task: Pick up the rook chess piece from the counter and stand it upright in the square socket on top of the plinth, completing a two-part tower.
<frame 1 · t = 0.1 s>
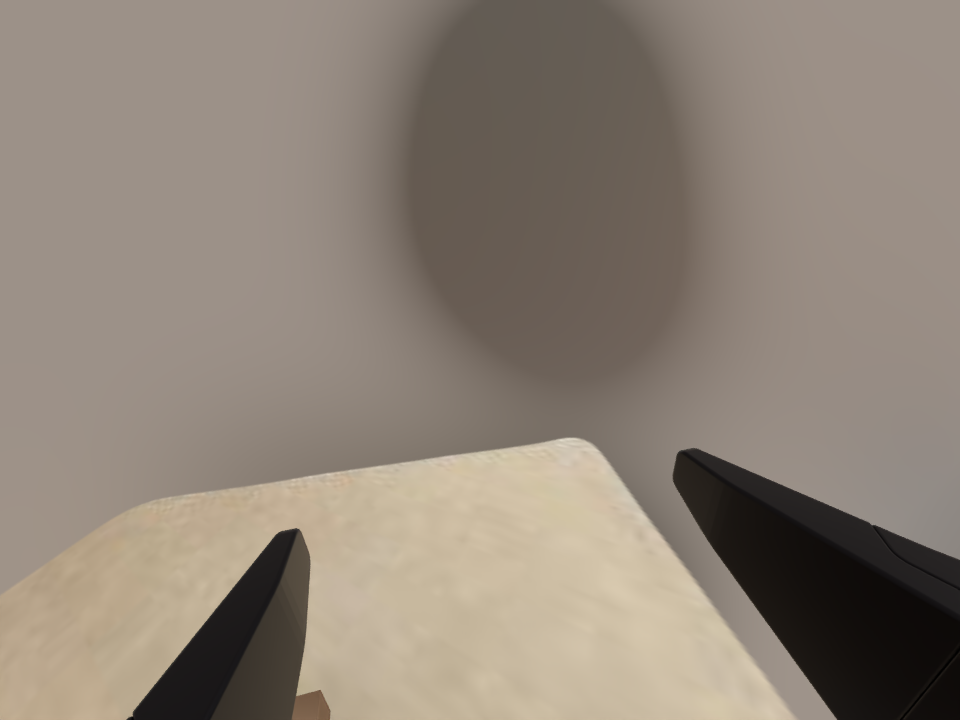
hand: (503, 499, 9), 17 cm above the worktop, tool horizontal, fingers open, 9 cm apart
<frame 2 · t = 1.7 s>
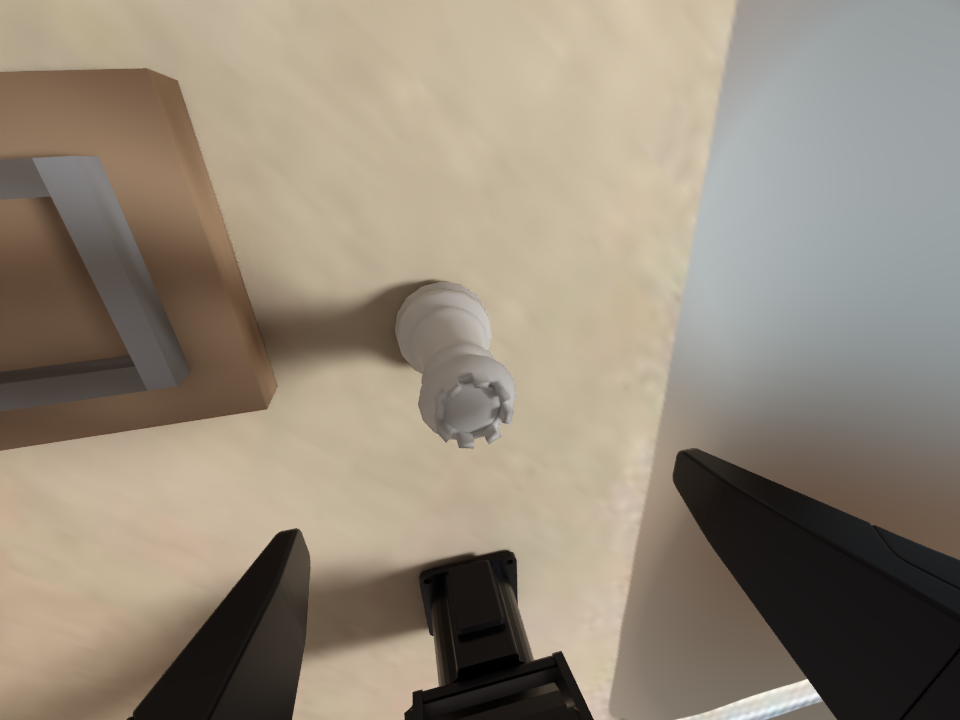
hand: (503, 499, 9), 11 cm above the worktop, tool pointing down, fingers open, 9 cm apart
plinth: (66, 275, 15), on the worktop
rook chess piece: (440, 323, 20), on the worktop
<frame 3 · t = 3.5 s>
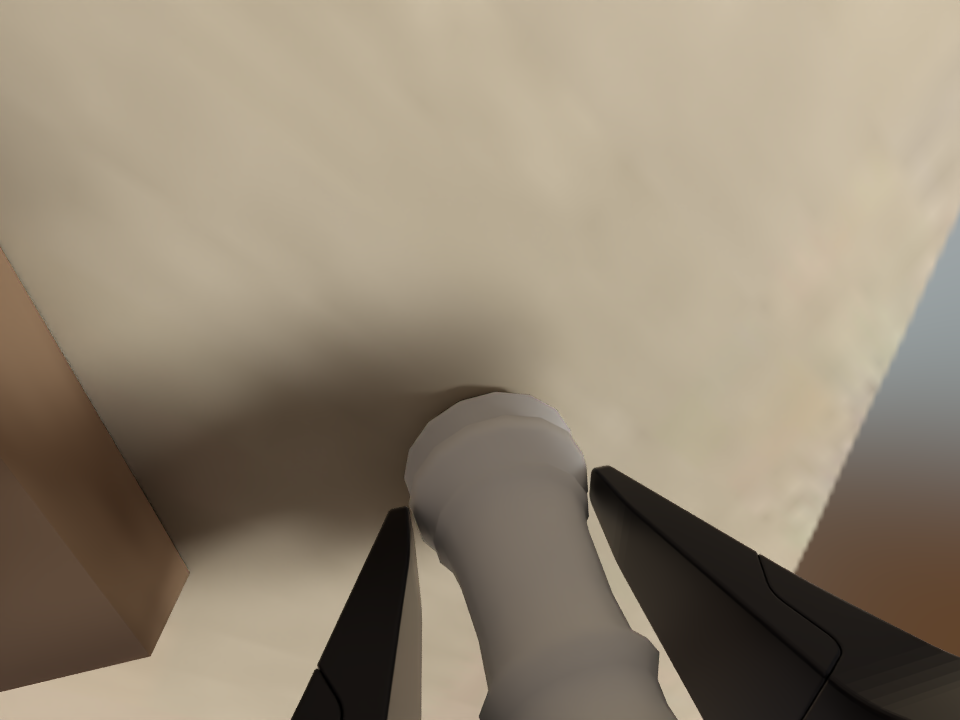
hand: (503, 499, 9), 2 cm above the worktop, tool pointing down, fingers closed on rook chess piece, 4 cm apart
rook chess piece: (486, 450, 11), on the worktop, touching gripper
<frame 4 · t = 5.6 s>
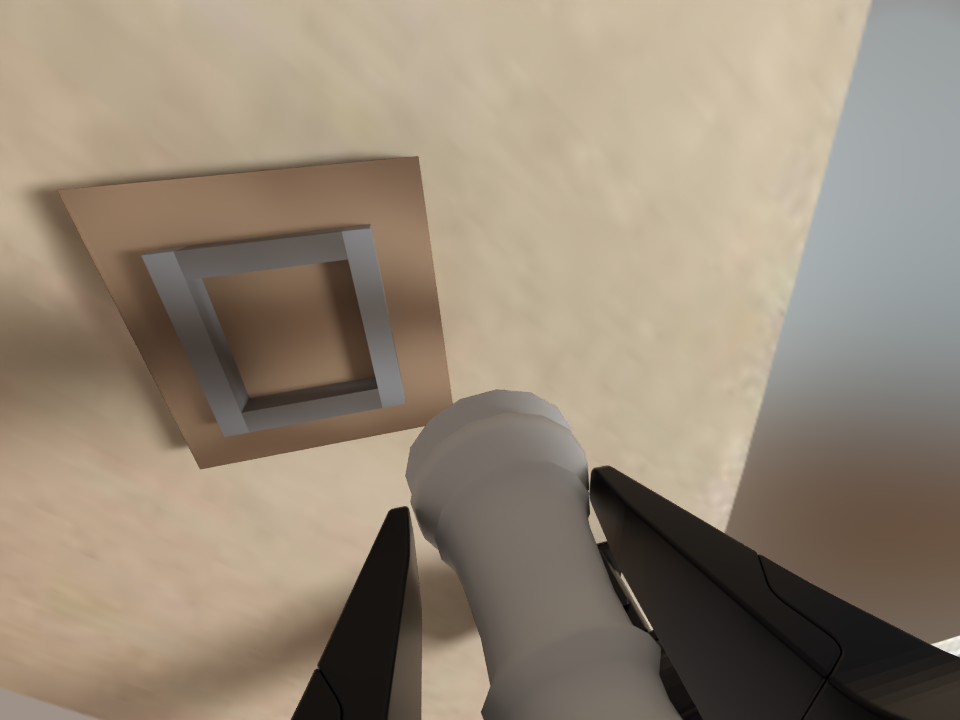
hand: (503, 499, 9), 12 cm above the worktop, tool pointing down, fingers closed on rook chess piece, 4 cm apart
plinth: (306, 314, 19), on the worktop
rook chess piece: (487, 448, 11), point 10 cm above the worktop, touching gripper
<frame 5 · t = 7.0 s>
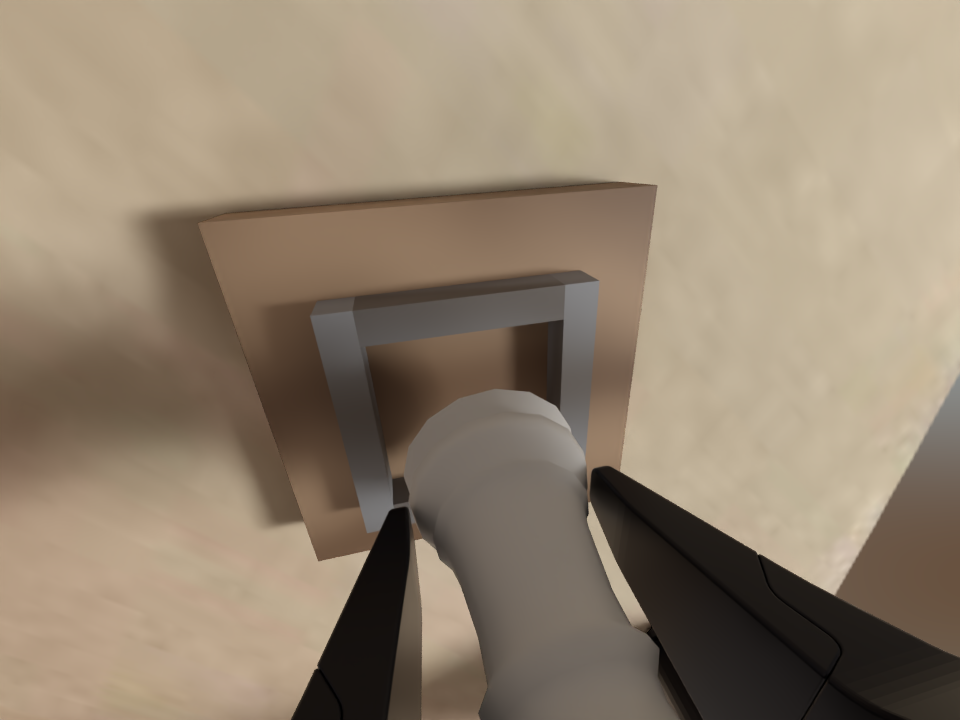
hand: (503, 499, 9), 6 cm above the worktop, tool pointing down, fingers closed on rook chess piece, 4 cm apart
plinth: (455, 370, 15), on the worktop
rook chess piece: (485, 447, 11), point 5 cm above the worktop, touching gripper
when the fingers open (6 cm above the worktop, at t = 7.9 s): rook chess piece drops 2 cm, resting on plinth.
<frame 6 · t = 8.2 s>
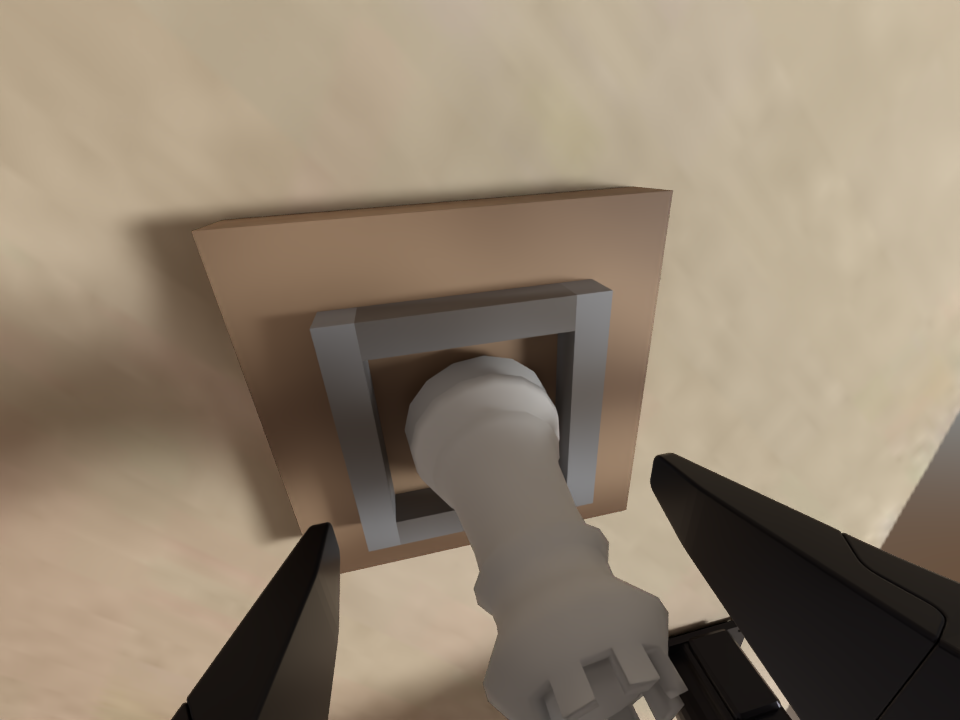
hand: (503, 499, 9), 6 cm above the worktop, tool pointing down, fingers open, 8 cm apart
plinth: (460, 380, 14), on the worktop
rook chess piece: (473, 408, 13), point 2 cm above the worktop, touching plinth
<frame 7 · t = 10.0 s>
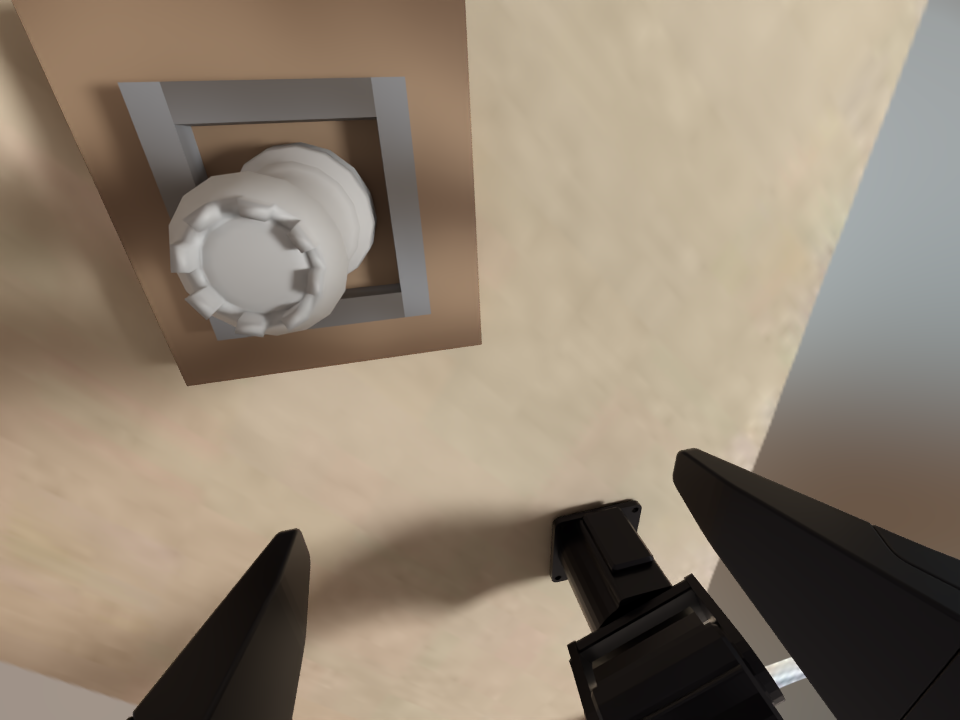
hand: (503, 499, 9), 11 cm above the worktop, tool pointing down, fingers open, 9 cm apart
plinth: (315, 207, 16), on the worktop
rook chess piece: (312, 213, 14), point 2 cm above the worktop, touching plinth
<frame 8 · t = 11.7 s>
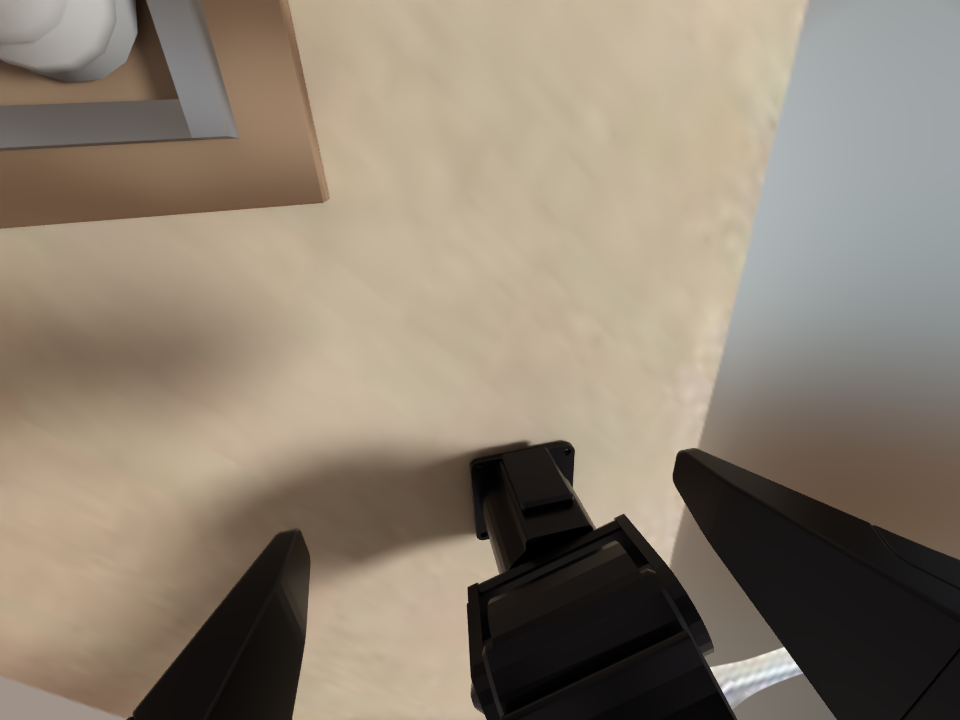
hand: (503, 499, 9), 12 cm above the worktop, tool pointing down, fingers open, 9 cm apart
plinth: (93, 13, 13), on the worktop
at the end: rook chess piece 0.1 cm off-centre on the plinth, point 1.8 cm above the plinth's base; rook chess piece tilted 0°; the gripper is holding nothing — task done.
